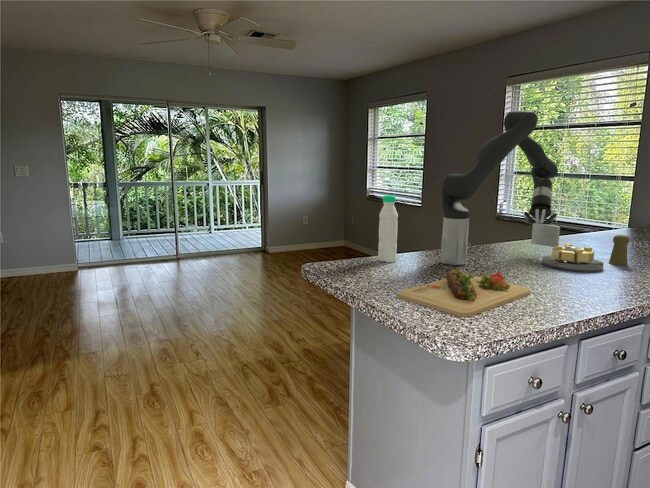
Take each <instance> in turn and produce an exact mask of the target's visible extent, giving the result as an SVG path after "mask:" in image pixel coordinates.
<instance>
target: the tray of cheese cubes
mask: <svg viewBox="0 0 650 488" xmlns="http://www.w3.org/2000/svg"><path fill="white" fill-rule="evenodd" d="M580 248H581V247H580V246H574V245H573V246H567V248H566V251H572V252H574V249H580ZM541 265H542V266H544V267H547V268H550V269H554V270H559V271H563V272H564V271H566V272H572V273H597V272H601V271H603V270H604V262H602V261H601V260H597V259H595V258H594V260H592V261H589V262H576V261H574V262H573V261H566V260H561V259H556V258H554V257H552V254H549V255H544V256H541Z"/></svg>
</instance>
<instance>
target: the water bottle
mask: <svg viewBox="0 0 650 488" xmlns="http://www.w3.org/2000/svg"><path fill="white" fill-rule="evenodd" d="M382 203H383V205H382V208H381V210H380V212H379V214H378V215H379V220H378V221H379V222H378V246H377V250H378V254H377V260H378V261H379V260H380V261H379V262H381V261H388V262H387V263H394V262H393V261H395V262H396V261H397V255H398V254H397V250H398V245H397V243H398V229H399V228H398V225H399V224H398V218H399V214H398V212H397V209H396V207H395V203H396V196H395V195H383V196H382Z"/></svg>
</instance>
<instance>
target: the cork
mask: <svg viewBox="0 0 650 488" xmlns="http://www.w3.org/2000/svg"><path fill="white" fill-rule="evenodd" d="M630 241H631V239H630V237H629V236H628V235H622V234H617V235H614V236H613V237H612V242H613V247H612V250H611V253H610V258H609V261H608V264H609V265H613V266H621V267H622V266H623V267H626V266H628V265H629V264H628V244H629V243H630Z"/></svg>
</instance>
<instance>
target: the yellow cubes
mask: <svg viewBox="0 0 650 488" xmlns="http://www.w3.org/2000/svg"><path fill="white" fill-rule="evenodd" d="M560 232H561V226H559V225H553V224H552V225H551V224H549V225H545V224H540V223H539V224H537V223H533V225H532V231H531V241H530V243H531V245H539V246H543V247H551V248H552V250H551V255H552V257H554V258H556V259H561V260H566V261H573V262H574V261H576V262H589V261H592V260H594V259H595V251H594V250H593V247H592V246H584V247H580V249H574V252H572V251H566V248H567V246H574V245H573V244H572V243H564V246H562V245H559V244H560Z"/></svg>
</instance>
